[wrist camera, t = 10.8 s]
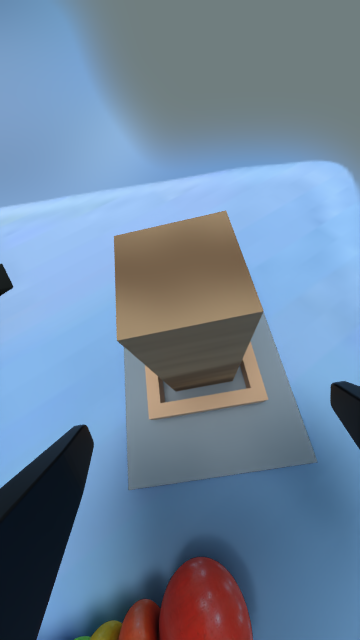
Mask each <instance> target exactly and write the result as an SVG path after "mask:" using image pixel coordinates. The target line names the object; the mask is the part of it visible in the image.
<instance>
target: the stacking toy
mask: <svg viewBox="0 0 360 640" xmlns="http://www.w3.org/2000/svg"><path fill="white" fill-rule="evenodd" d="M74 640H253V636H252V627H251V621H250V617H249V613H248V609H247V606H246V603H245V600H244V598H243V595H242V593H241V591H240V588H239V586H238V585H237V583H236V581H235V579H234V578H233V576H232V575H231V574H230V572H229V571H228V570H227V569H226V568H225V567H224V566H223V565H221V564H220V563H219V562H217V561H215V560H213V559H211V558H208V557H196V558H192V559H190V560H188V561H186V562H185V563H184V564H183V565H181V566H180V567H179V568H178V569H177V571H176V572H175V573H174V575H173V576H172V577H171V579H170V581H169V583H168V585H167V588H166V591H165V593H164V597H163V600H162V604H161V609H160V608H159V606H158V605H157V604H156V603H155V602H153V601H152V600H150V599H142V600H139V601H137V602H136V603H135V604H133V606H132V607H131V608H130V609H129V611H128V612H127V614H126V616H125V618H124V621H123V623H121V622H119V621H115V620H112V621H108V622H106V623H104V624H103V625H101V626H100V627H99V628H98V629H97V630H96V631H95V632H94V634H93V635H92V637H88V636H82V637H78V638H76V639H74Z"/></svg>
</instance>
